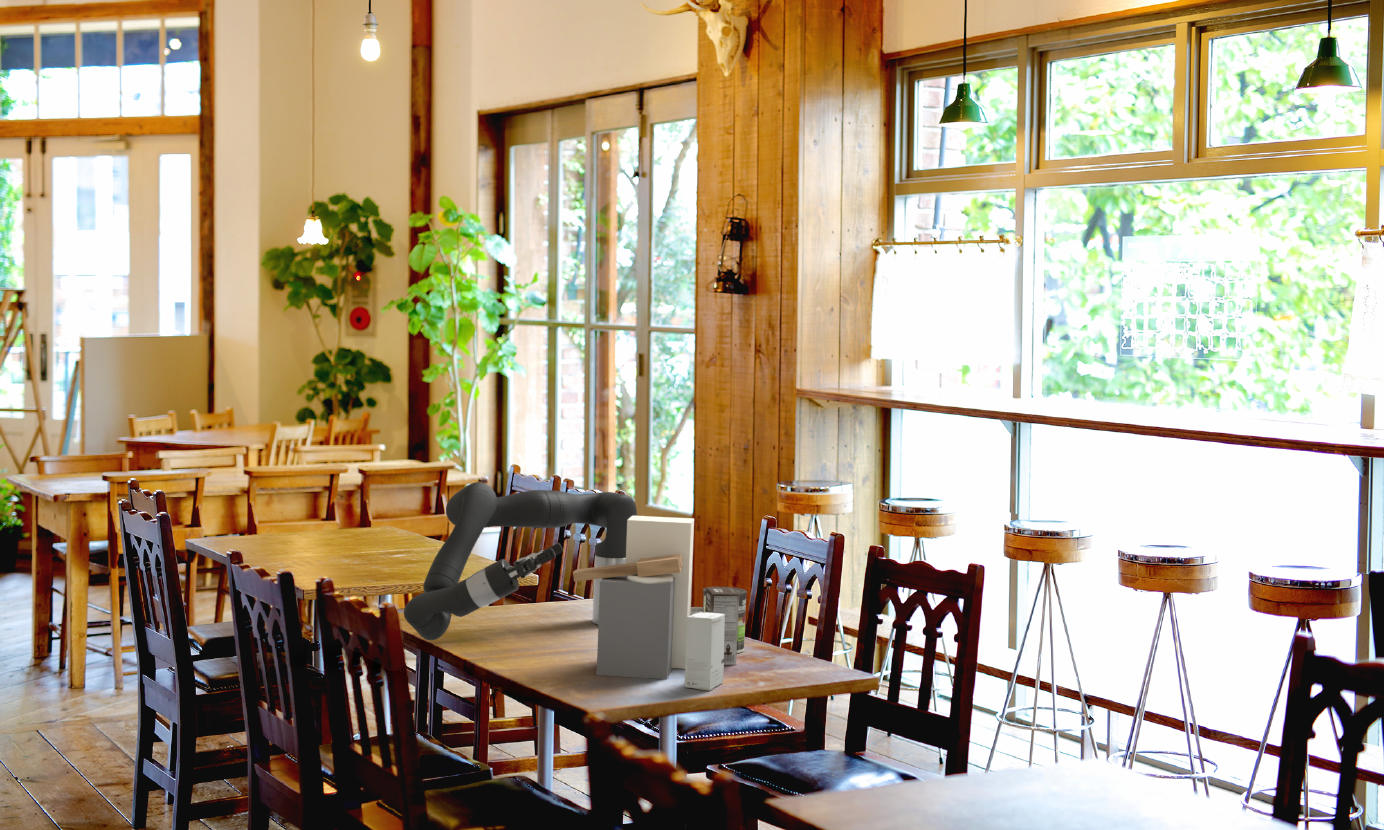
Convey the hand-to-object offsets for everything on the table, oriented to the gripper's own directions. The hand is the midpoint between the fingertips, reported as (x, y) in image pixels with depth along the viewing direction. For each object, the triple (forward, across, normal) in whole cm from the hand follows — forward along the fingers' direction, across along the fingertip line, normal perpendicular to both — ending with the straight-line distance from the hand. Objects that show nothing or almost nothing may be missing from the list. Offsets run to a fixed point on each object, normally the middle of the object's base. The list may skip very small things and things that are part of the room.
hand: (557, 549), depth 281 cm
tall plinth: (+6, +10, +33) cm, 35 cm away
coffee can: (+18, +28, +40) cm, 52 cm away
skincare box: (+16, -8, +39) cm, 43 cm away
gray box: (+3, 0, +31) cm, 31 cm away
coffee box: (+18, +16, +40) cm, 46 cm away
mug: (+12, +40, +37) cm, 55 cm away
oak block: (+11, 0, +12) cm, 16 cm away
